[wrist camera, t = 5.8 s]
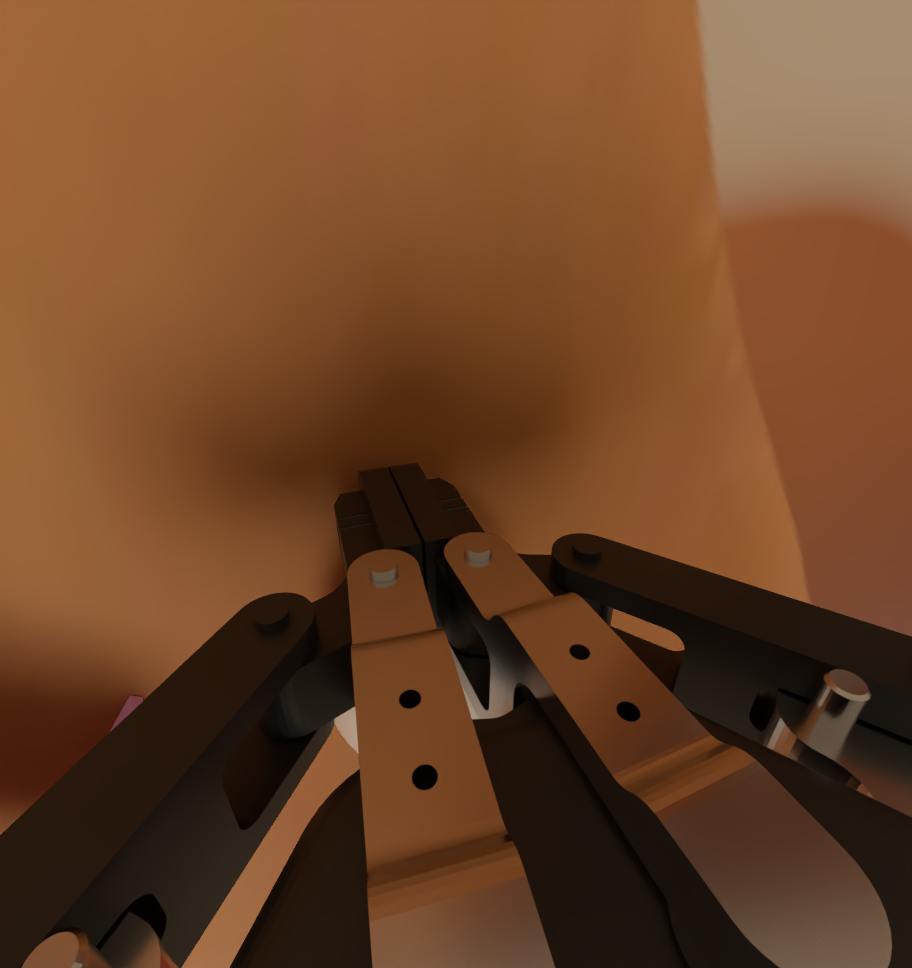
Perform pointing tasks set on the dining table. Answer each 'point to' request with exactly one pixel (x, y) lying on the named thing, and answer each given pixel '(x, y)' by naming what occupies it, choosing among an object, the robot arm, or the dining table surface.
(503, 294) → the dining table surface
